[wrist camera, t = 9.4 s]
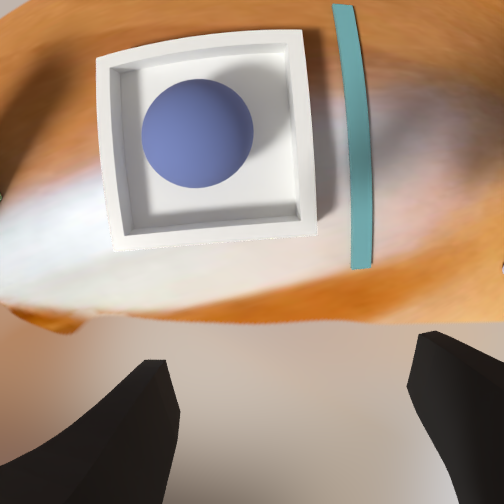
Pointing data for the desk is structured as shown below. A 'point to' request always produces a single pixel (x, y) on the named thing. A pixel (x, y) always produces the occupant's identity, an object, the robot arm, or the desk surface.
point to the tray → (249, 174)
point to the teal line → (356, 136)
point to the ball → (197, 133)
